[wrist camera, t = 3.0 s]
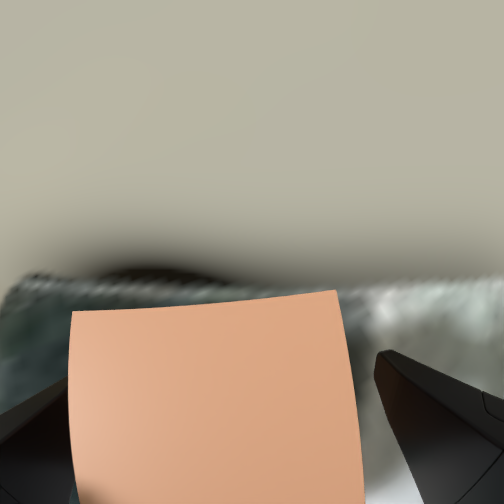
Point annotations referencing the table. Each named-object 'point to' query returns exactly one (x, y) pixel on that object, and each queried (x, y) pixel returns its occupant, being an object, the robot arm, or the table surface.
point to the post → (215, 404)
